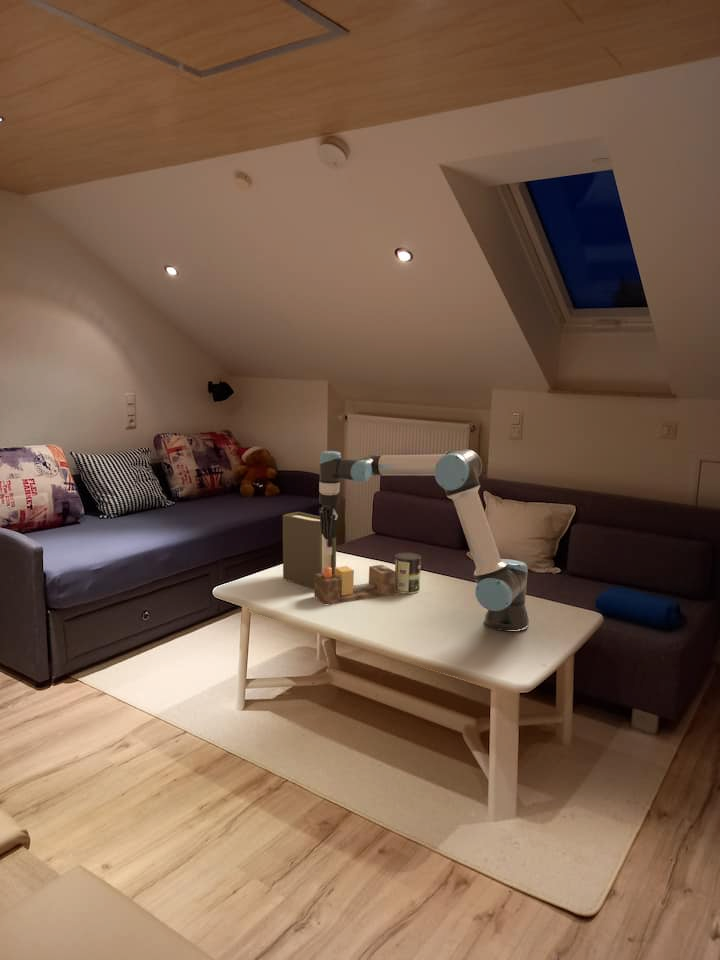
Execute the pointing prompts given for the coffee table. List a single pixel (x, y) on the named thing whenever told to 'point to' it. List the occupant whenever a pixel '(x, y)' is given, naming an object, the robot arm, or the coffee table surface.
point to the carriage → (345, 579)
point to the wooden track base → (331, 592)
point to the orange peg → (327, 572)
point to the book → (304, 549)
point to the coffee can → (407, 573)
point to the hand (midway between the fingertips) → (327, 554)
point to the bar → (364, 587)
